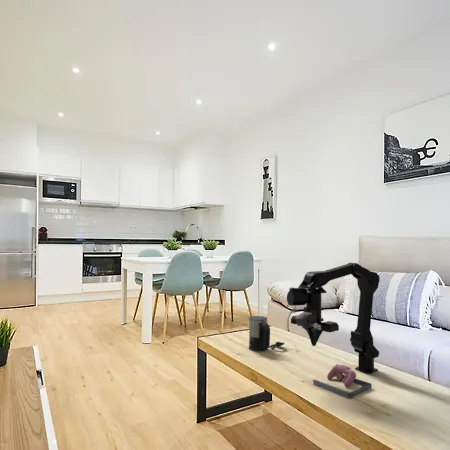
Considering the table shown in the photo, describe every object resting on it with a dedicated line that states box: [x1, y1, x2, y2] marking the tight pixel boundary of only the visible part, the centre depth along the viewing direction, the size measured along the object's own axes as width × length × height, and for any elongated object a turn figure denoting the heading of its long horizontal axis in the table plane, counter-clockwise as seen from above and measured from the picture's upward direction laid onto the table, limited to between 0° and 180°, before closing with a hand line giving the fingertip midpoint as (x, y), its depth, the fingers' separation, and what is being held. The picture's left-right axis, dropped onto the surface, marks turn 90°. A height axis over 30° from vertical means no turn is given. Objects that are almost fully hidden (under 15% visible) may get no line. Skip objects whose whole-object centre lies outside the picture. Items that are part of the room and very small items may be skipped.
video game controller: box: [326, 364, 357, 389], centre depth 128 cm, size 10×5×7 cm, turn 29°
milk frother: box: [248, 315, 285, 352], centre depth 168 cm, size 14×16×15 cm
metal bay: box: [312, 374, 373, 399], centre depth 124 cm, size 14×15×2 cm
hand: (313, 345), depth 134 cm, fingers closed
